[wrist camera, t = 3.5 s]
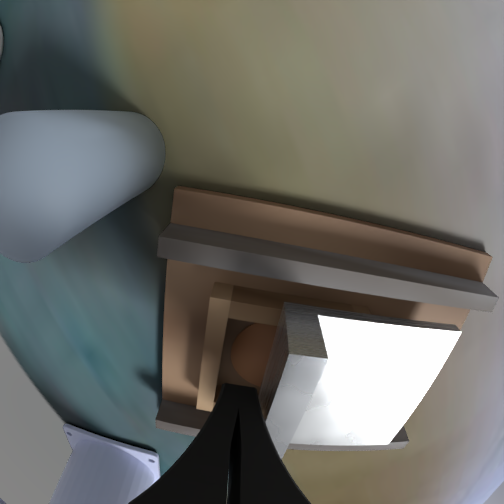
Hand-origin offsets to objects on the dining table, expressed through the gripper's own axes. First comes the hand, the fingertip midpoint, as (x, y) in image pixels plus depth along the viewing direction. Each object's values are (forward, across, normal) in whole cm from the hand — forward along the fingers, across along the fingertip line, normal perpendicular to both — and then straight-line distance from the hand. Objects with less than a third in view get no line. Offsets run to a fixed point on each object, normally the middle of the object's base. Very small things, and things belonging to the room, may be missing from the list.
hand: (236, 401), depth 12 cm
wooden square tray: (+4, -4, 0) cm, 5 cm away
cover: (+2, -5, 0) cm, 5 cm away
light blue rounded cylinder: (+4, +6, -8) cm, 11 cm away
